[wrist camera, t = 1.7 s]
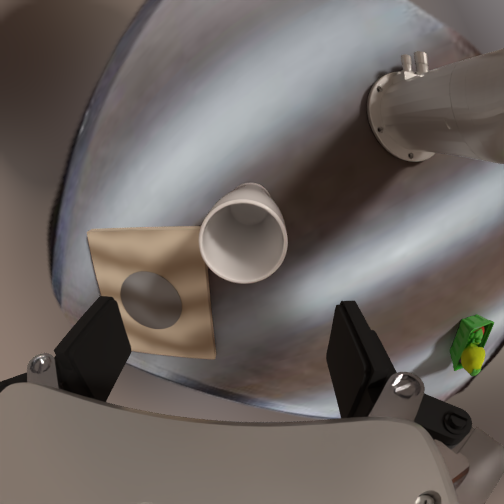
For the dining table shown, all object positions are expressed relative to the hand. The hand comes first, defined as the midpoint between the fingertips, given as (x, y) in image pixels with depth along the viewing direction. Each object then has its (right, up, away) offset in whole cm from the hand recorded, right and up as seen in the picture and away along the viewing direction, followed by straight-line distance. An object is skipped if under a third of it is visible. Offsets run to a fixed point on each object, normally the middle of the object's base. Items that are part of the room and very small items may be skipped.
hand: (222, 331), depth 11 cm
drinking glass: (+1, +9, +23) cm, 25 cm away
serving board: (-14, -4, +29) cm, 32 cm away
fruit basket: (+45, -14, +31) cm, 57 cm away
